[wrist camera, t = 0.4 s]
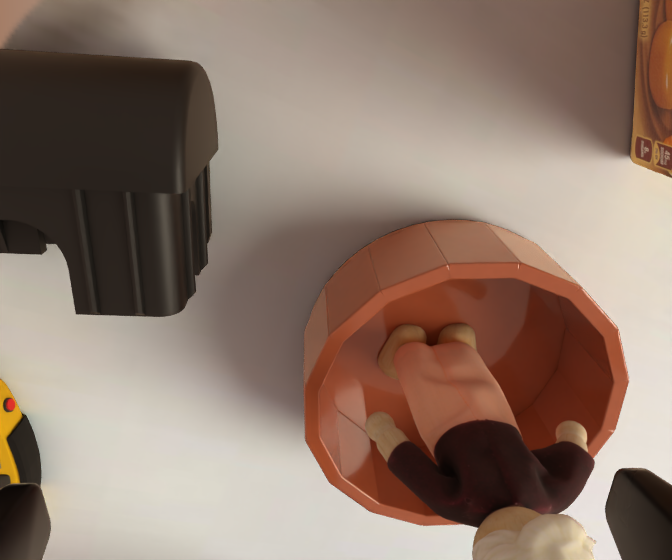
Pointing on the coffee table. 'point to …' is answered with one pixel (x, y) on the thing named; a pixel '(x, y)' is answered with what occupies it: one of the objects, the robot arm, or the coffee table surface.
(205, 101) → the end cap
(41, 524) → the robot arm
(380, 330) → the desk pot
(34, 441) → the yellow walkie-talkie
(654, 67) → the candy box
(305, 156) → the coffee table surface
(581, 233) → the coffee table surface
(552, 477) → the grandmother figurine
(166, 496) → the coffee table surface
